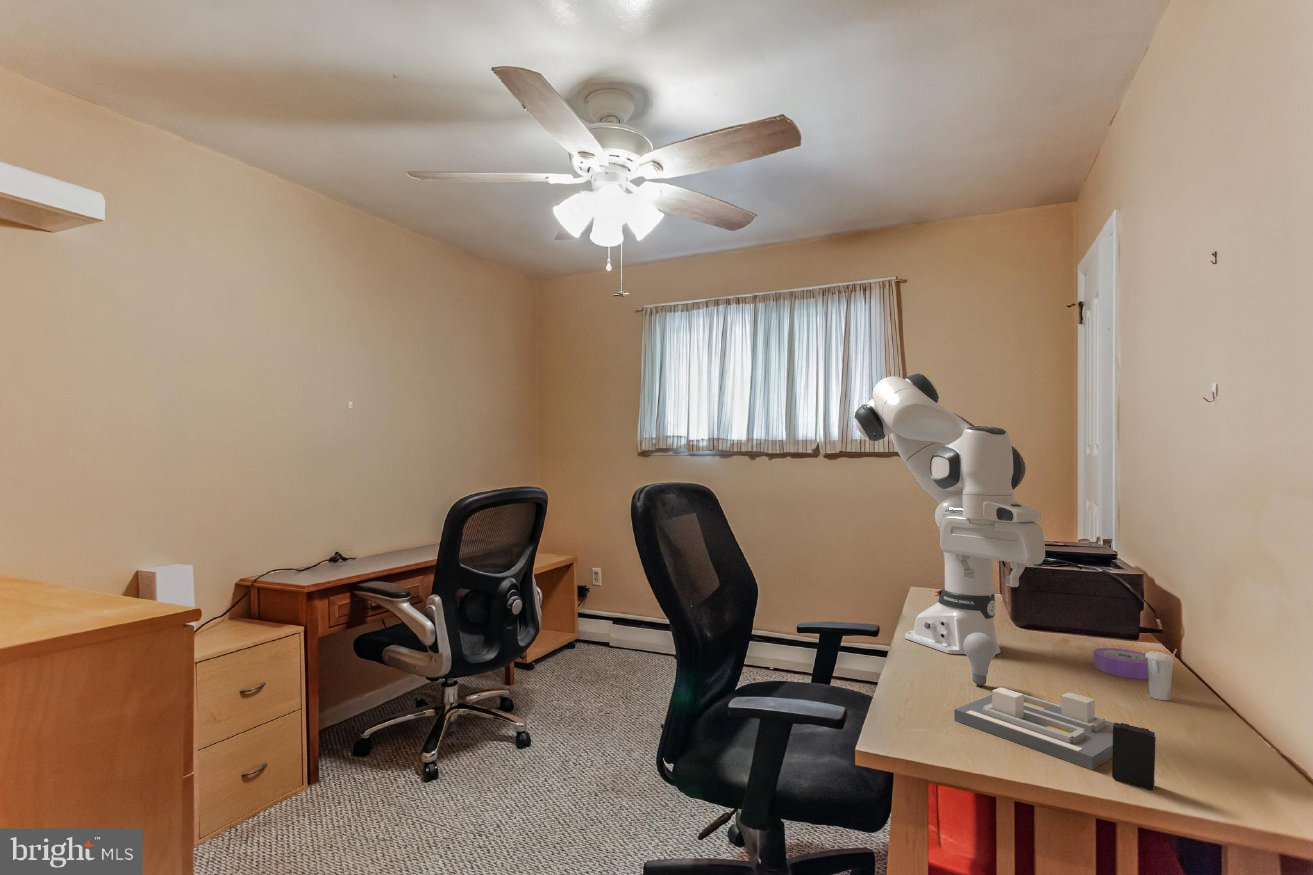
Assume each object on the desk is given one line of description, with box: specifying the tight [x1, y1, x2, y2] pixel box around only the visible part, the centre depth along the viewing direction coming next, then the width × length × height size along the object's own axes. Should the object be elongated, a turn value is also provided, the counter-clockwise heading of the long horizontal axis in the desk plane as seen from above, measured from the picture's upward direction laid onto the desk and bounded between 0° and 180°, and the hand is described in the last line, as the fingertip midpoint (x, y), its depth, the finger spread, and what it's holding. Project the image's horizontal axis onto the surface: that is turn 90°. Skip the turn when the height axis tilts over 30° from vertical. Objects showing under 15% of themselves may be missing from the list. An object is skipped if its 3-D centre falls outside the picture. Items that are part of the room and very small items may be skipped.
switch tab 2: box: [1060, 692, 1096, 723], centre depth 111 cm, size 4×3×4 cm
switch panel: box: [953, 694, 1114, 771], centre depth 112 cm, size 22×18×3 cm
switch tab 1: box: [991, 687, 1025, 719], centre depth 113 cm, size 4×3×4 cm
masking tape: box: [1093, 647, 1148, 680], centre depth 146 cm, size 12×12×4 cm
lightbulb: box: [963, 633, 996, 687], centre depth 134 cm, size 6×6×11 cm
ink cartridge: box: [1111, 722, 1157, 791], centre depth 94 cm, size 5×2×8 cm, turn 50°
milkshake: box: [1145, 648, 1178, 701], centre depth 129 cm, size 5×5×10 cm
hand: (989, 582), depth 122 cm, fingers open, 8 cm apart
